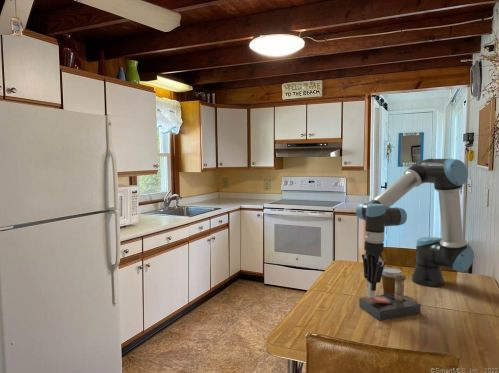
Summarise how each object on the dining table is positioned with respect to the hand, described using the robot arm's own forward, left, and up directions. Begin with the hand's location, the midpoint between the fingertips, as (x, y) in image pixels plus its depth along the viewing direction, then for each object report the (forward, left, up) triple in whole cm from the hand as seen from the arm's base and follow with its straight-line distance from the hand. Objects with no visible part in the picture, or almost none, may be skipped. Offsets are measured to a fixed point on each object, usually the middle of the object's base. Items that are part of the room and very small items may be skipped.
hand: (371, 297), depth 155 cm
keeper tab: (-4, 0, -2) cm, 4 cm away
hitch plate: (-9, 0, -7) cm, 11 cm away
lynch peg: (-14, 0, -7) cm, 16 cm away
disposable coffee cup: (-21, -14, -7) cm, 26 cm away
